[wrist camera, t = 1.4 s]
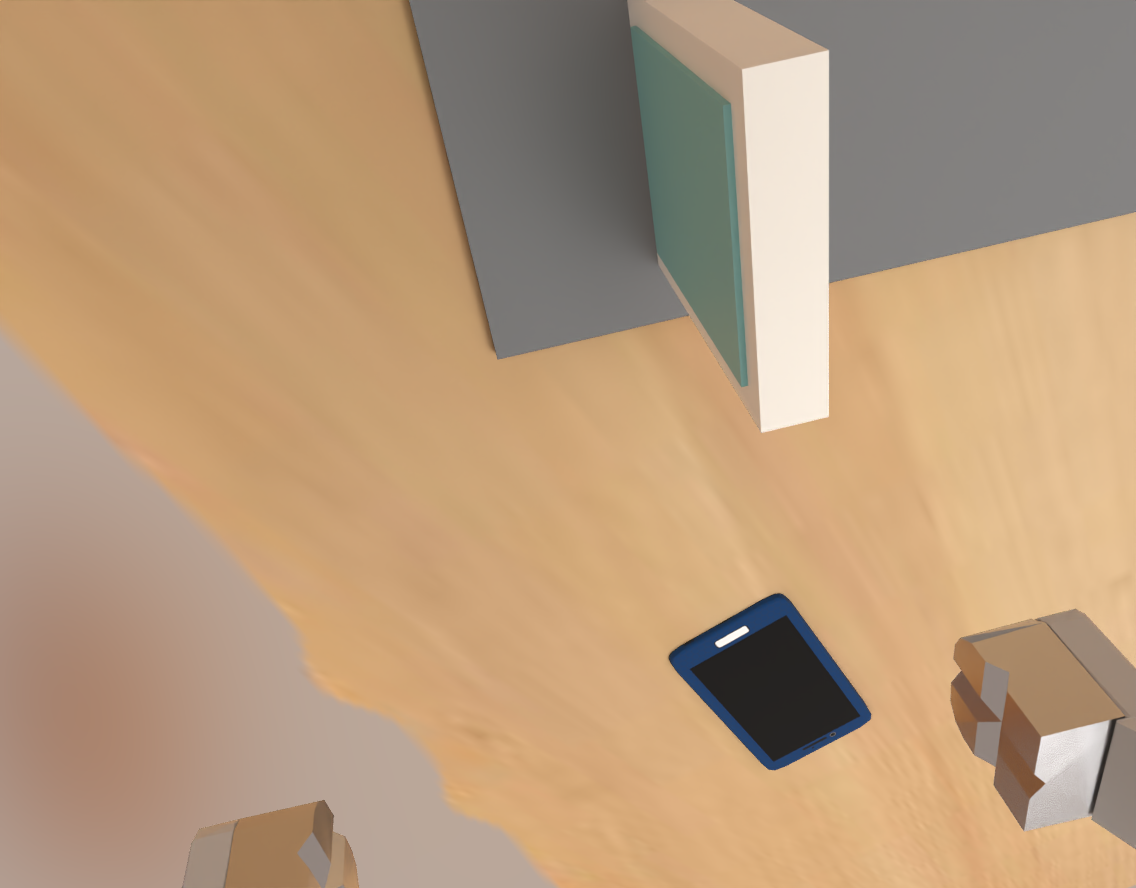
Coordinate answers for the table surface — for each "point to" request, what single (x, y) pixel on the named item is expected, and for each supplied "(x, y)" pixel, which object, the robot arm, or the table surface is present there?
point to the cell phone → (771, 682)
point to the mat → (856, 141)
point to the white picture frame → (741, 193)
